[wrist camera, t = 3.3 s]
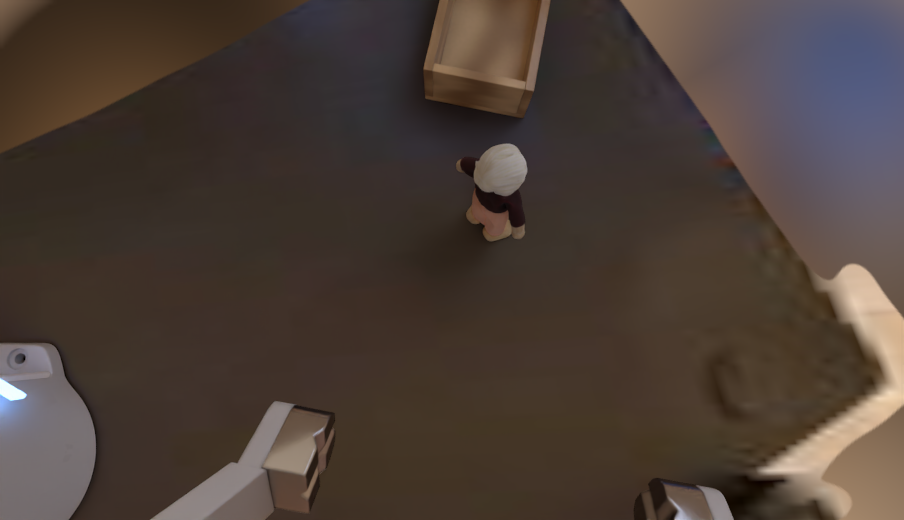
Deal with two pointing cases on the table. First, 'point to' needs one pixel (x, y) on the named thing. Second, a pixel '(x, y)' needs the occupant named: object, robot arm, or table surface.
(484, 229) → the grandmother figurine
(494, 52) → the holder
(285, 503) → the robot arm
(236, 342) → the table surface
